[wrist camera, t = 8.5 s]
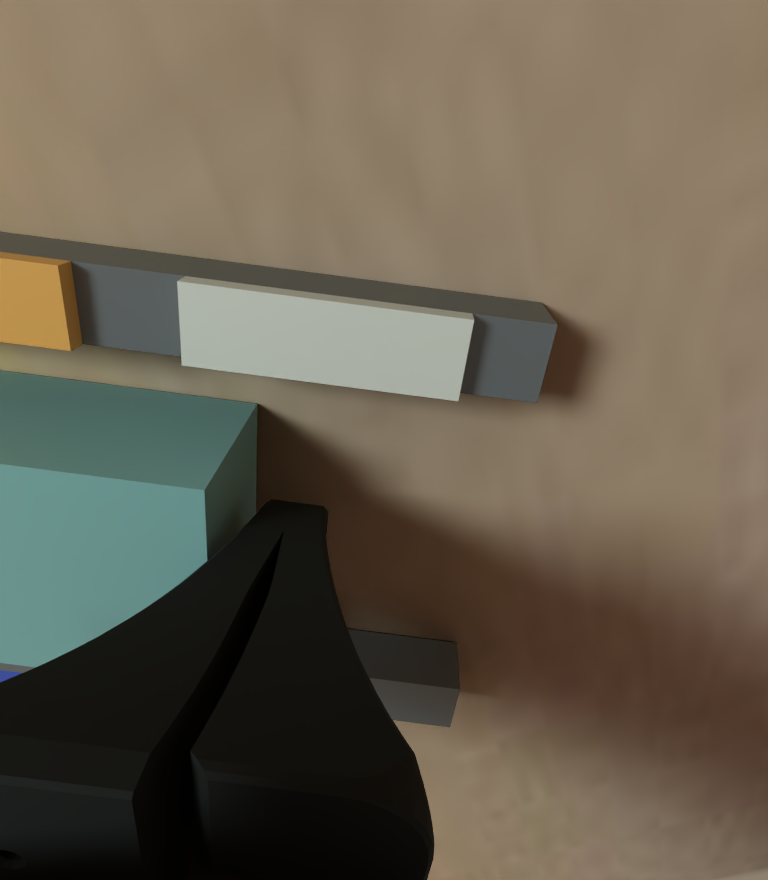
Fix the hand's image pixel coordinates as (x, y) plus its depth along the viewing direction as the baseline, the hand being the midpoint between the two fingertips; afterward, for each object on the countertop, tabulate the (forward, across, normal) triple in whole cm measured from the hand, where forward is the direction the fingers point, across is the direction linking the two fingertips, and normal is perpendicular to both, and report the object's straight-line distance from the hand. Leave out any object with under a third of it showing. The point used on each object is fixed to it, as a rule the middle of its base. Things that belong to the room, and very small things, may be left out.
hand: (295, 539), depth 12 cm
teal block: (+1, +4, 0) cm, 4 cm away
